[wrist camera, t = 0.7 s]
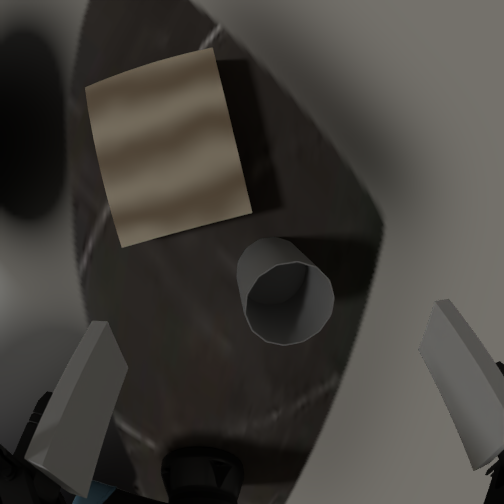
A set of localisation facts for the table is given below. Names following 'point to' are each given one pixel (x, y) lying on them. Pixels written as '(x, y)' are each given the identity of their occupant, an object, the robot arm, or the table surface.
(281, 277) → the cup
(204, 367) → the table surface
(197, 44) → the table surface
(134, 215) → the oak stand
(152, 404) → the table surface
